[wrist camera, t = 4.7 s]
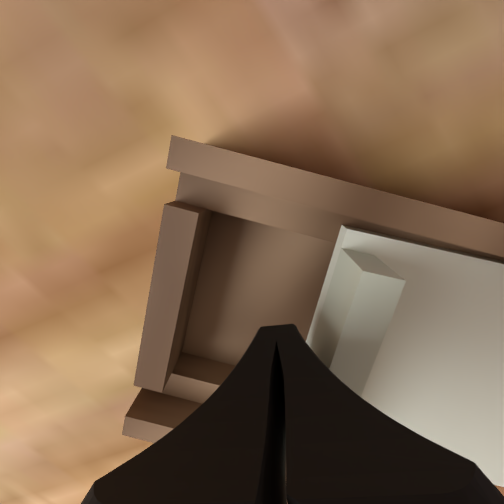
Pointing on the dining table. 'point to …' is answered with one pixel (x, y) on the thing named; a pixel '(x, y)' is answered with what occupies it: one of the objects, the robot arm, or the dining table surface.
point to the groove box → (255, 266)
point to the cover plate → (419, 339)
